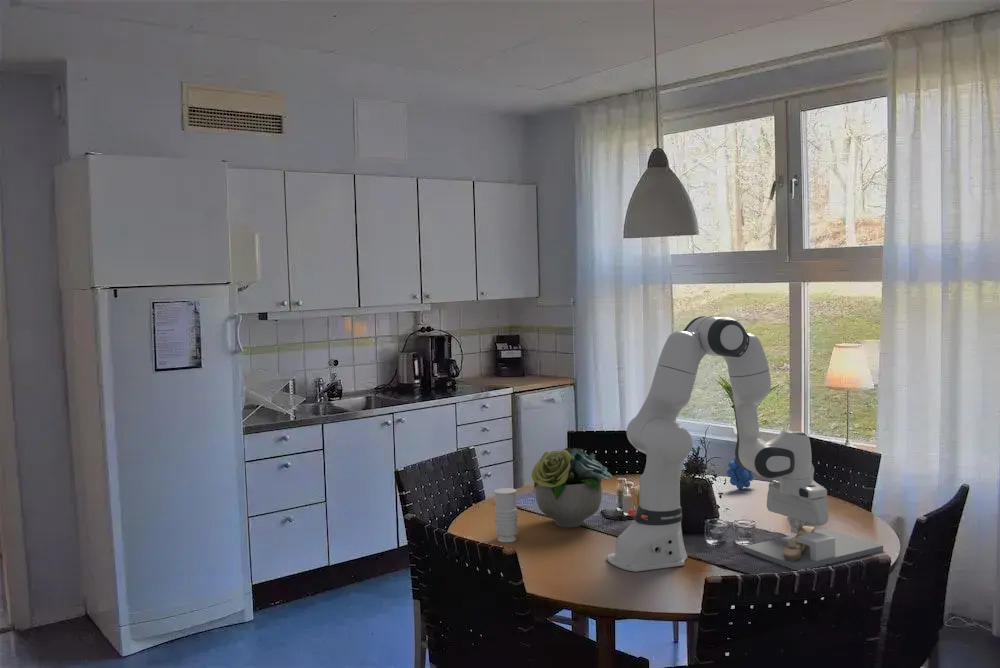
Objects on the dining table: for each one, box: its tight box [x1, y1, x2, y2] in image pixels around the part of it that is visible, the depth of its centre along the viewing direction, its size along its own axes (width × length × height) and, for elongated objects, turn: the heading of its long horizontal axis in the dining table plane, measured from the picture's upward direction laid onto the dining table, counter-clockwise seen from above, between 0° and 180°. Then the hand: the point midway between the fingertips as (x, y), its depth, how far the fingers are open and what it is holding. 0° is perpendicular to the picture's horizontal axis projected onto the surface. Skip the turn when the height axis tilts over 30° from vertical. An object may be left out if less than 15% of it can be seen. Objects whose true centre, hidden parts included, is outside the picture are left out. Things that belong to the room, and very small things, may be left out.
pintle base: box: [743, 527, 884, 571], centre depth 236 cm, size 32×20×6 cm, turn 117°
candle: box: [493, 487, 519, 543], centre depth 257 cm, size 7×7×15 cm
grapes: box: [726, 458, 755, 490], centre depth 307 cm, size 12×7×12 cm, turn 113°
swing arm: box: [783, 525, 816, 560], centre depth 234 cm, size 24×4×2 cm, turn 149°
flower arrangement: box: [531, 447, 613, 529], centre depth 270 cm, size 25×25×24 cm
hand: (796, 533), depth 245 cm, fingers closed
